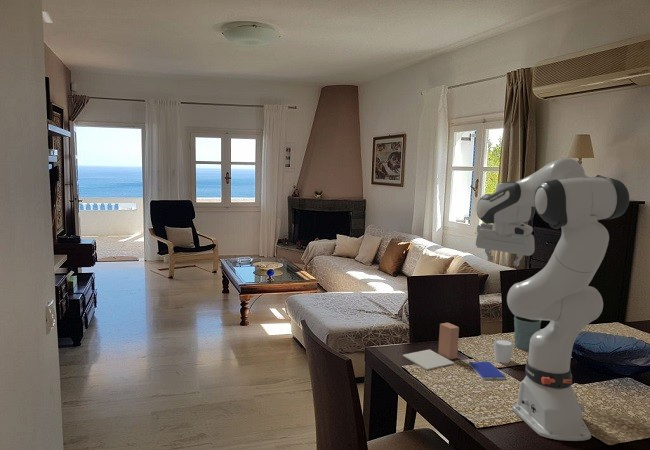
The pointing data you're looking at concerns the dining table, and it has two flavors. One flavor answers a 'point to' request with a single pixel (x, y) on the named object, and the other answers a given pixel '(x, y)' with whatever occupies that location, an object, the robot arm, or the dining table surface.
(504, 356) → the shot glass
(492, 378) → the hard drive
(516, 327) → the teal bucket
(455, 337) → the block
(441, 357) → the mat
